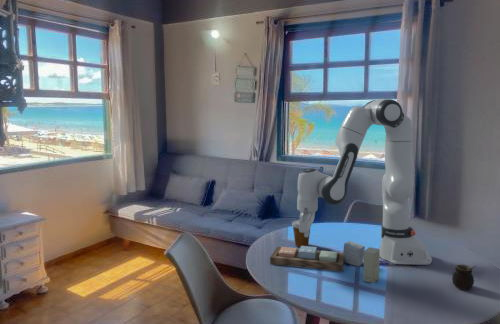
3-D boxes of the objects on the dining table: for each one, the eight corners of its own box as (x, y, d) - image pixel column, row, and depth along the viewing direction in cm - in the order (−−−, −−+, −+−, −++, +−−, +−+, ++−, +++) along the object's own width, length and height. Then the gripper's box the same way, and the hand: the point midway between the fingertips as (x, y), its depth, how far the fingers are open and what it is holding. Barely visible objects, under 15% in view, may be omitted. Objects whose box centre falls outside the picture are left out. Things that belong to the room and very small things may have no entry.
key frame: (344, 259, 173) (344, 253, 172) (342, 271, 161) (342, 264, 160) (277, 252, 182) (277, 246, 182) (270, 263, 170) (270, 257, 169)
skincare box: (373, 283, 149) (374, 254, 147) (362, 280, 152) (363, 251, 150) (379, 278, 154) (380, 248, 152) (368, 275, 157) (369, 246, 155)
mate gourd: (453, 281, 150) (455, 256, 148) (476, 286, 145) (478, 261, 144) (449, 287, 144) (451, 262, 143) (472, 294, 140) (474, 268, 138)
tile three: (296, 254, 176) (296, 247, 176) (293, 260, 169) (293, 253, 169) (281, 253, 178) (281, 246, 178) (278, 258, 172) (278, 251, 171)
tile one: (337, 258, 171) (337, 251, 170) (335, 264, 164) (335, 257, 164) (321, 256, 173) (321, 250, 172) (319, 263, 166) (319, 256, 166)
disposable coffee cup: (312, 248, 186) (312, 224, 184) (292, 249, 186) (292, 225, 185) (310, 241, 196) (310, 219, 194) (291, 242, 196) (291, 219, 194)
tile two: (316, 253, 173) (316, 246, 173) (314, 259, 167) (314, 252, 166) (301, 251, 175) (301, 245, 175) (298, 257, 169) (298, 250, 168)
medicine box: (362, 264, 168) (365, 246, 167) (357, 267, 165) (360, 248, 163) (346, 258, 174) (349, 240, 172) (341, 261, 170) (344, 242, 169)
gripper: (310, 212, 157) (310, 245, 159) (317, 200, 176) (317, 229, 178) (295, 211, 159) (295, 243, 161) (304, 199, 178) (303, 228, 180)
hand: (306, 236), depth 170 cm, fingers closed
